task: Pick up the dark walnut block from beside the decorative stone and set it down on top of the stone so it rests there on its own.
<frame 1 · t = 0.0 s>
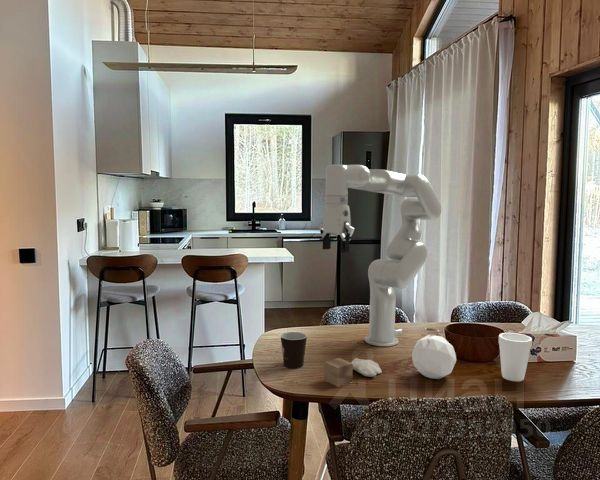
hand: (335, 250, 172), 37 cm above the table, tool pointing down, fingers open, 9 cm apart
decorative stone: (364, 372, 161), on the table
walnut block: (338, 381, 151), on the table
foam cup: (512, 378, 156), on the table
geodesic sphere: (432, 377, 156), on the table
coffee mug: (294, 364, 166), on the table
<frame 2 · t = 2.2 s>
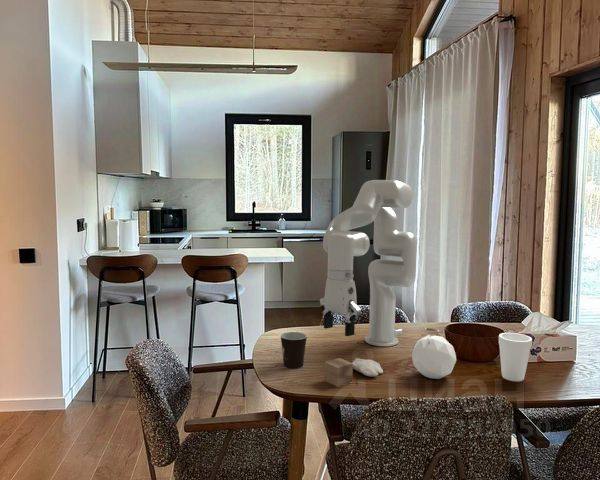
hand: (338, 331, 149), 16 cm above the table, tool pointing down, fingers open, 9 cm apart
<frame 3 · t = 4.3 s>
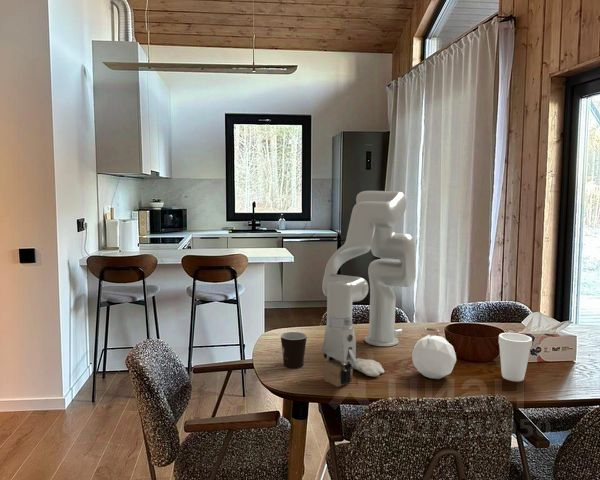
hand: (338, 378, 151), 1 cm above the table, tool pointing down, fingers closed on walnut block, 6 cm apart
walnut block: (338, 381, 151), on the table, touching gripper
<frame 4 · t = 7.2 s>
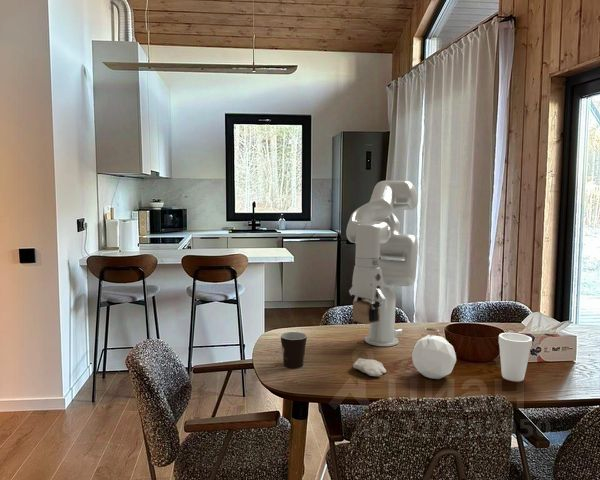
hand: (366, 318, 159), 17 cm above the table, tool pointing down, fingers closed on walnut block, 6 cm apart
walnut block: (365, 320, 159), point 16 cm above the table, touching gripper
when the fingers open (6 cm above the table, at t = 10.1 s): walnut block drops 2 cm, resting on decorative stone.
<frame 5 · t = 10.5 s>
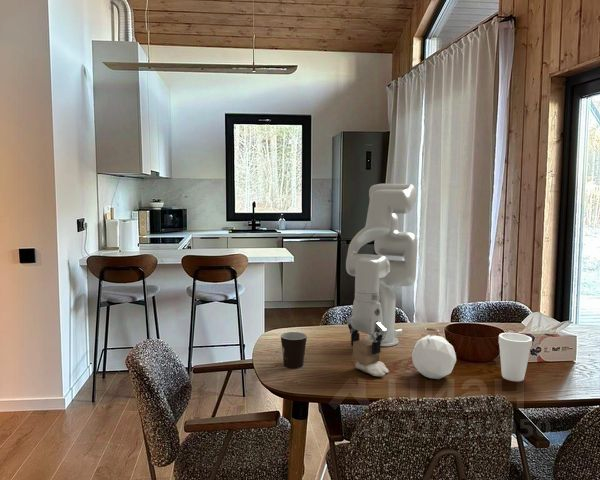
hand: (365, 349, 160), 7 cm above the table, tool pointing down, fingers open, 9 cm apart
decorative stone: (371, 371, 161), on the table, touching walnut block
walnut block: (366, 360, 161), point 3 cm above the table, touching decorative stone
everything else where it was.
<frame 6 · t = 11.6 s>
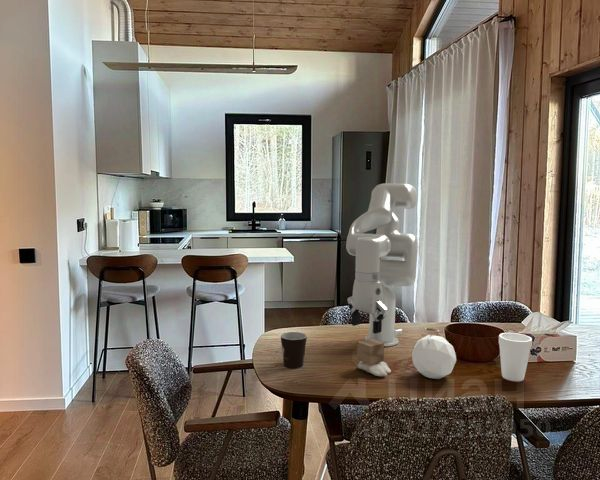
hand: (366, 328, 160), 14 cm above the table, tool pointing down, fingers open, 9 cm apart
walnut block: (370, 360, 160), point 3 cm above the table, touching decorative stone
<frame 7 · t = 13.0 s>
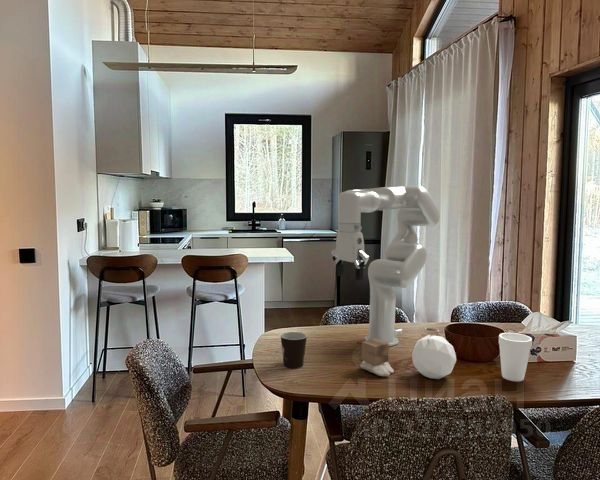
hand: (349, 277, 172), 28 cm above the table, tool pointing down, fingers open, 9 cm apart
walnut block: (374, 360, 160), point 3 cm above the table, touching decorative stone
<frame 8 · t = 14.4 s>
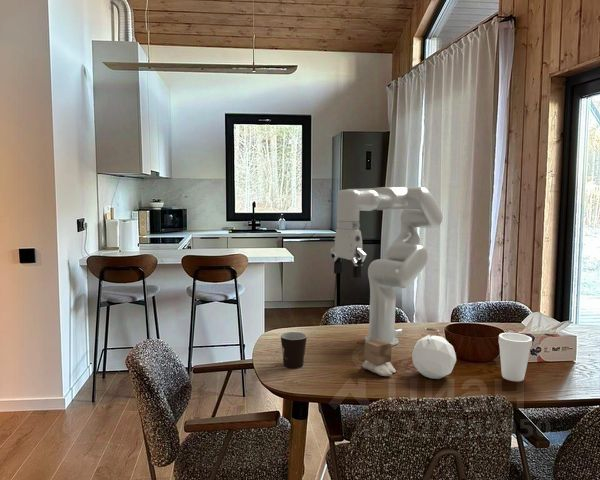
hand: (347, 275, 173), 28 cm above the table, tool pointing down, fingers open, 9 cm apart
at the end: walnut block inside the target area on the decorative stone (0.8 cm from its centre), point 3.9 cm above the decorative stone's base; walnut block tilted 0°; the gripper is holding nothing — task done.
